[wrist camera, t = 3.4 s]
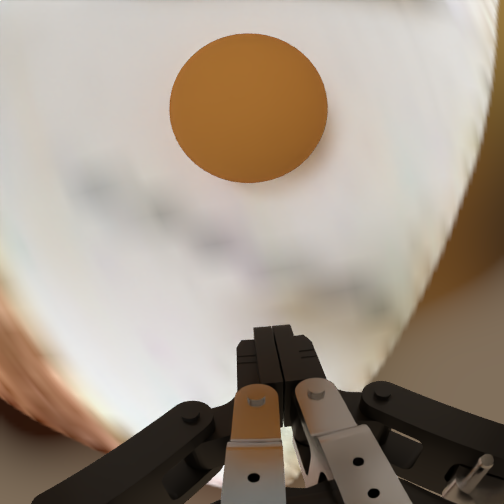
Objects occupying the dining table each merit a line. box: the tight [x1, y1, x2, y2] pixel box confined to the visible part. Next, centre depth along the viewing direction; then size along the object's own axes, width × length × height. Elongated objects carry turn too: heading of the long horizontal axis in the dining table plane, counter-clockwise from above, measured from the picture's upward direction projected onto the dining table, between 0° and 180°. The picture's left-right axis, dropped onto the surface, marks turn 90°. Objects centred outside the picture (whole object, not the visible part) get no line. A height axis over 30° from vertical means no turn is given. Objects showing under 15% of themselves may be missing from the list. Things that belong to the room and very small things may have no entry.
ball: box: [170, 34, 327, 183], centre depth 11 cm, size 6×6×6 cm
